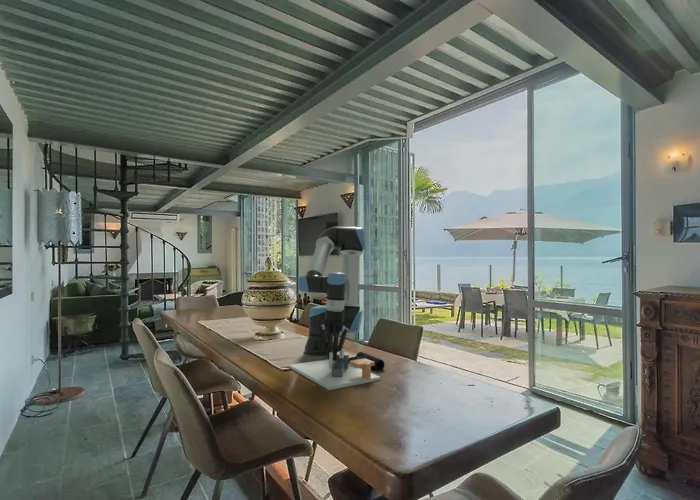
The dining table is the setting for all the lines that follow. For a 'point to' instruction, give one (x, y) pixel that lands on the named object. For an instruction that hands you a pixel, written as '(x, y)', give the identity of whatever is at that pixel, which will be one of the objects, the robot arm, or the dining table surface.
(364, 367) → the keeper
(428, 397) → the dining table surface
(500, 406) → the dining table surface
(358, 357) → the pipe connector
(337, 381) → the board
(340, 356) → the cylinder
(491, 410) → the dining table surface
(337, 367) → the link
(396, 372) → the dining table surface
